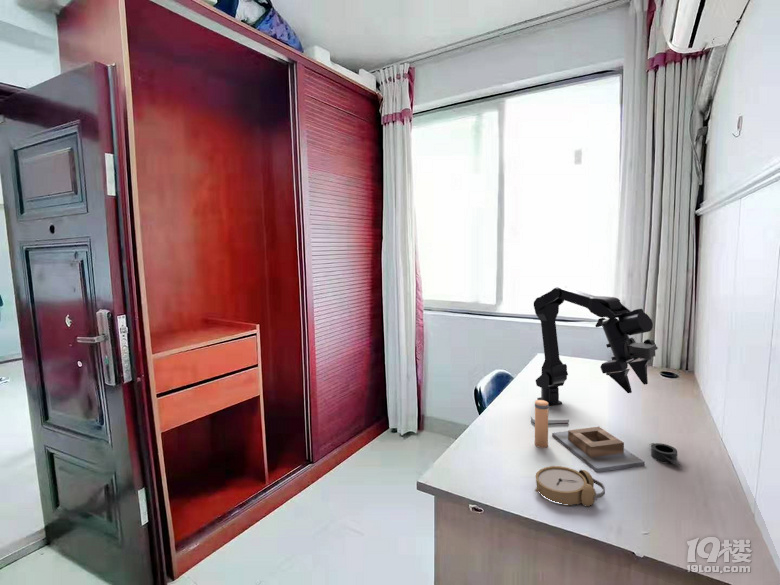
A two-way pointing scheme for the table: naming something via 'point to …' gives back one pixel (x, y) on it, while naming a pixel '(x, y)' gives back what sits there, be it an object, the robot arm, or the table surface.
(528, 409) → the table surface
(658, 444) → the black hollow winged cylinder
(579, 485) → the alarm clock
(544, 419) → the terracotta pin
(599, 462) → the block
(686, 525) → the table surface
